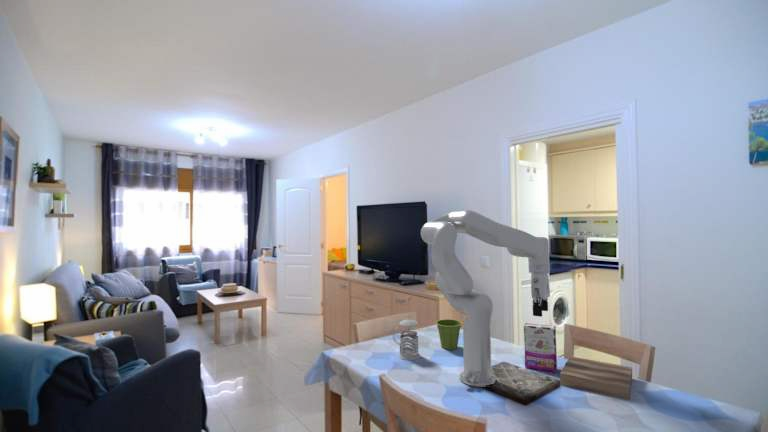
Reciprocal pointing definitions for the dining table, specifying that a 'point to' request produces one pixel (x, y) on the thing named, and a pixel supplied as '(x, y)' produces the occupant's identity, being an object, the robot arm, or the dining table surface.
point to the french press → (408, 340)
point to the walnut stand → (597, 377)
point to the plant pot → (449, 332)
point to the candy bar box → (540, 347)
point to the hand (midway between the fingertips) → (540, 313)
